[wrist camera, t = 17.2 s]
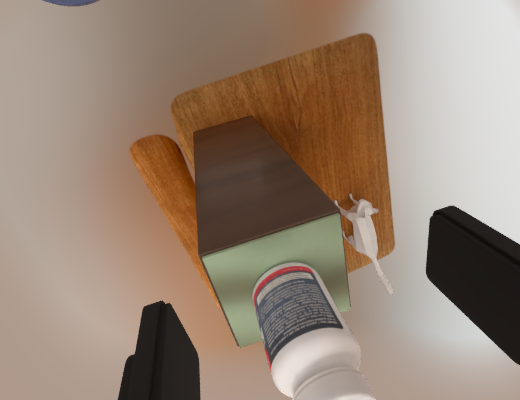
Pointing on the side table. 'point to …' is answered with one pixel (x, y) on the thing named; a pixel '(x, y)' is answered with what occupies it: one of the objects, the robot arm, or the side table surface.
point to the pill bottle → (307, 337)
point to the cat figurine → (364, 234)
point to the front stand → (260, 220)
